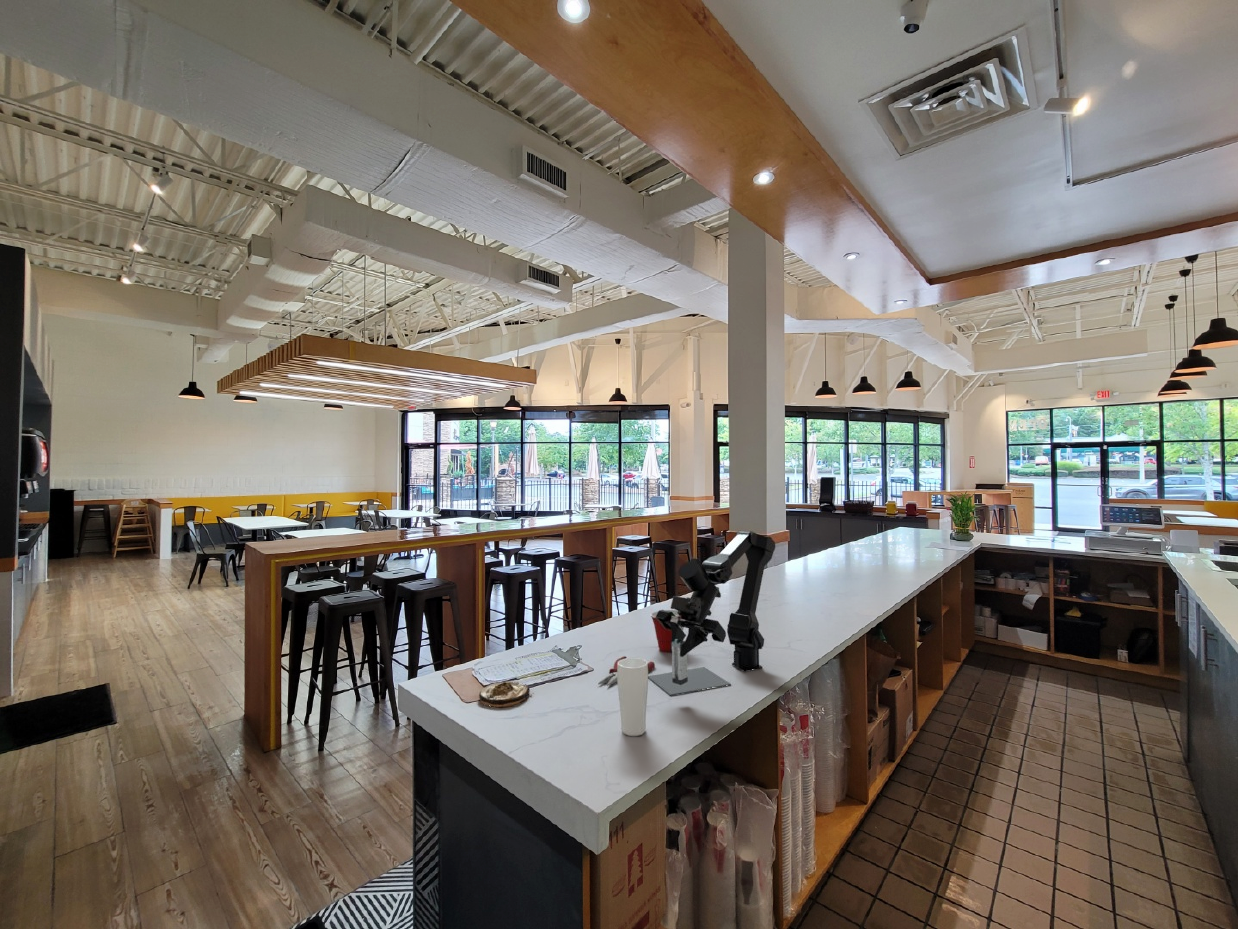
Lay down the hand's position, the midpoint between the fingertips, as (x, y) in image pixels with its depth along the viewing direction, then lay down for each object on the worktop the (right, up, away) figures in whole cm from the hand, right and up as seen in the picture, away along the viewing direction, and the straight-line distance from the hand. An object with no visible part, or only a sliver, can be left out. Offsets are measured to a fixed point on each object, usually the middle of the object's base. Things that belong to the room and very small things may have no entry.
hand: (676, 654), depth 134 cm
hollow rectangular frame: (+1, -7, +1) cm, 7 cm away
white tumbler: (-11, -12, -15) cm, 22 cm away
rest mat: (+5, -12, +13) cm, 19 cm away
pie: (-43, -13, +4) cm, 45 cm away
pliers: (-14, -13, +21) cm, 28 cm away
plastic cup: (+1, -13, +41) cm, 43 cm away
